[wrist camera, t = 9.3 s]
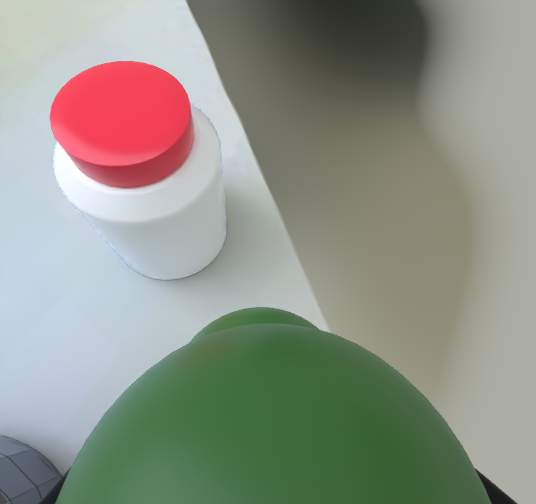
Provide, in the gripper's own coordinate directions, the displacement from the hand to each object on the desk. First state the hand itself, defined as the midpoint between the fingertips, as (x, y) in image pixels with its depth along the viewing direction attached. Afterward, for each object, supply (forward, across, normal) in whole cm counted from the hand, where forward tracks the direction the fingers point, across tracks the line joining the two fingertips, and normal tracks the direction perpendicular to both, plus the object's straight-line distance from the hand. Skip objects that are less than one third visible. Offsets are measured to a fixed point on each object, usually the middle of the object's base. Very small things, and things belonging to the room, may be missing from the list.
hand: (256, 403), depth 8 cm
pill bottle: (+18, +5, +2) cm, 18 cm away
